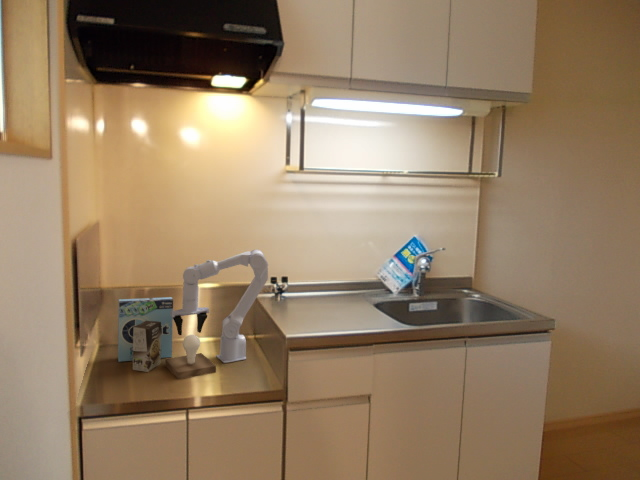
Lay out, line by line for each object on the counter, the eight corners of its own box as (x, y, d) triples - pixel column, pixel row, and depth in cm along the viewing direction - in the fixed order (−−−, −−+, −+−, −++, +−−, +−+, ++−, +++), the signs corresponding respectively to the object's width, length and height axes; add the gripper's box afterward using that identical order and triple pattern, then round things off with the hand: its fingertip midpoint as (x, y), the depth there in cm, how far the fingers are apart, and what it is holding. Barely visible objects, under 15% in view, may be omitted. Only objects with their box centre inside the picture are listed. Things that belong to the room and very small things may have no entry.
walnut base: (201, 359, 195) (201, 353, 195) (215, 372, 184) (216, 365, 183) (165, 365, 187) (165, 359, 187) (178, 379, 176) (178, 372, 175)
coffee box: (148, 372, 180) (148, 328, 178) (132, 370, 181) (132, 326, 179) (161, 363, 189) (162, 321, 187) (145, 361, 190) (146, 319, 188)
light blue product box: (118, 362, 187) (118, 302, 184) (117, 357, 192) (118, 299, 189) (172, 357, 195) (173, 299, 192) (170, 352, 200) (171, 296, 197)
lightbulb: (190, 368, 179) (191, 339, 178) (178, 364, 182) (179, 335, 181) (203, 363, 184) (204, 334, 183) (191, 359, 187) (192, 331, 186)
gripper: (175, 303, 184) (174, 339, 185) (212, 299, 192) (211, 333, 194) (168, 298, 189) (168, 333, 191) (205, 294, 198) (204, 328, 199)
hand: (189, 333), depth 193 cm, fingers open, 7 cm apart
